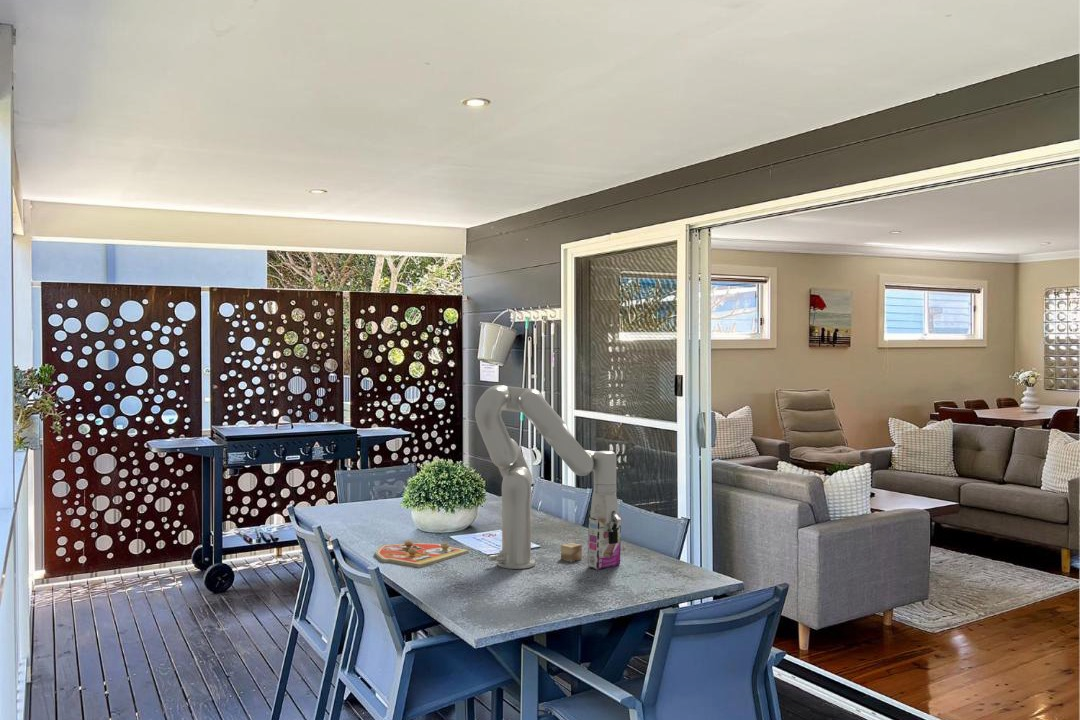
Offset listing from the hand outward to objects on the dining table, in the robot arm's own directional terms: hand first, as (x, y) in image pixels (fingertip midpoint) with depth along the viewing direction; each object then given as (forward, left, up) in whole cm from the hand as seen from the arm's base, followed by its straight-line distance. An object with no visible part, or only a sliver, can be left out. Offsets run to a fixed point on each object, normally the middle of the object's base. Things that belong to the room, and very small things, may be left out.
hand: (605, 540), depth 283 cm
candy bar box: (0, 0, -9) cm, 9 cm away
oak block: (-5, +13, -9) cm, 16 cm away
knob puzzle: (-50, +45, -9) cm, 68 cm away
